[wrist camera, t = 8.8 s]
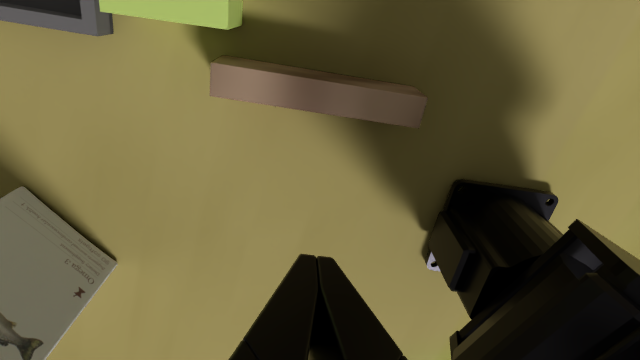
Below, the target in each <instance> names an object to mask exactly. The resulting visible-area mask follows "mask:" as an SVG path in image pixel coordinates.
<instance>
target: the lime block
mask: <svg viewBox="0 0 640 360" xmlns="http://www.w3.org/2000/svg"><path fill="white" fill-rule="evenodd" d="M99 6H100V12H107V13H114V14H121V15H128V16H135V17H142V18H149V19H156V20H163V21H170V22H177V23H184V24H191V25H198V26H205V27H212V28H219V29H226V30H229V29H232V28H235V27H238V26H241V25H242V9H243V0H99Z"/></svg>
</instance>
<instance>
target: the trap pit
mask: <svg viewBox="0 0 640 360" xmlns="http://www.w3.org/2000/svg"><path fill="white" fill-rule="evenodd" d="M0 20H2V21H8V22H14V23H20V24H26V25H32V26H38V27H44V28H50V29H56V30H62V31H68V32H75V33H81V34H87V35H93V36H102V35H108V34H113V20H112V13H107V12H100V6H99V0H0Z"/></svg>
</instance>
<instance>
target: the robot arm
mask: <svg viewBox="0 0 640 360" xmlns="http://www.w3.org/2000/svg"><path fill="white" fill-rule="evenodd" d="M461 186H464V188H463V189H462V190H461V191H458V189H459V187H461ZM548 199H550V200H549V201H548V202H546V201H547V200H548ZM557 203H558V198H557V196H555V195H554V194H553V193H551V192H547V191H540V190H533V189H526V188H519V187H512V186H505V185H498V184H491V183H484V182H477V181H470V180H463V179H460V180H457V181H455V182H454V183H453V185H452V187H451V190H450V192H449V195H448V198H447V201H446V204H445V206H444V209H443V210H442V211H441V212H440V213H439V215H438V218H437V221H436V224H435V227H434V229H433V232H432V235H431V238H430V241H429V243H428V246H429V251H428V254H427V256H426V259H425V263H426V265H427V267H428V268H429V269H430V270H435V271H441V273H442V275H443V277H444V279H445V281H446V283H447V285H448V287H449V288H450V290H451V291H455V292H457V293H458V295H459V297H460V299H461V301H462V303H463V305H464V307H465V309H466V311H467V313H468V315H469V317H470V318H471V319H472V320H471V321H470V322H469V323H468V324H467V325H465V326H464V327H463V328H462V329H461V330H460V331H456V332H455V333H454V334H453V335H452V336H450V350H451V360H640V260H639V259H637V258H636V257H634V256H633V255H631V254H630V253H628V252H627V251H625V250H624V249H622V248H621V247H619V246H618V245H616V244H615V243H613V242H611V241H610V240H608V239H607V238H605V237H604V236H602V235H601V234H599V233H598V232H596V231H595V230H593V229H592V228H590V227H589V226H587V225H586V224H584V223H583V222H581V221H580V220H578V219H576V220H575V221H574V222H573V223H572V224H571V225H570V226H569V227H568V228H569V230H568V231H567V232H566V233H565V234H564V235H563V234H562V233H561V232H560V231H559V230H558V229H557V228H556V227H555V226H553V225H552V224H551V223H550V222H549V219H550V217H551V215H552V213H553V211H554V209H555V207H556V205H557ZM433 261H436V262H435V263H432V262H433ZM229 360H407V358H406V357H405V356H403V353H402V352H401V350H400V349H399V348H398V346H397V345H396V343H395V342H394V341H393V339H392V338H391V337H390V335H389V334H388V333H387V331H386V330H385V328H384V327H383V326H382V324H381V323H380V322H379V320H378V319H377V318H376V316H375V315H374V313H373V312H372V311H371V309H370V308H369V307H368V305H367V304H366V303H365V301H364V300H363V298H362V297H361V296H360V294H359V293H358V292H357V290H356V289H355V288H354V286H353V285H352V283H351V282H350V281H349V279H348V278H347V277H346V275H345V274H344V273H343V271H342V270H341V268H340V267H339V266H338V264H337V263H336V262H335V260H334V259H333V258H331V257H324V256H318V257H317V258H316V257H315V256H314V255H307V254H300V255H299V256H298V258H297V259H296V261H295V262H294V264H293V265H292V267H291V268H290V270H289V271H288V273H287V274H286V276H285V277H284V279H283V280H282V282H281V283H280V285H279V286H278V288H277V289H276V291H275V292H274V294H273V295H272V297H271V298H270V299H269V301H268V302H267V304H266V305H265V307H264V308H263V310H262V311H261V313H260V314H259V316H258V317H257V319H256V320H255V322H254V323H253V325H252V326H251V328H250V329H249V331H248V332H247V334H246V335H245V337H244V338H243V341H241V342H240V344H239V345H238V347H237V348H236V350H235V351H234V353H233V354H232V355H231V357H230V358H229Z"/></svg>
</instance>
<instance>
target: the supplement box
mask: <svg viewBox="0 0 640 360" xmlns="http://www.w3.org/2000/svg"><path fill="white" fill-rule="evenodd" d="M117 264H118V263H117V262H116V261H114V260H113V259H112V258H110V257H109V256H108V255H106V254H105V253H103V252H102V251H101V250H100V249H98V248H97V247H96V246H94V245H93V244H92V243H91V242H89V241H88V240H87V239H86V238H84V237H83V236H82V235H81V234H79V233H78V232H77V231H76V230H74V229H73V228H72V227H71V226H70V225H68V224H67V223H66V222H65V221H64V220H62V219H61V218H60V217H59V216H58V215H57V214H55V213H54V212H53V211H51V210H50V209H49V208H48V207H47V206H46V205H45V204H43V203H42V202H41V201H40V200H39V199H38V198H36V197H35V196H34V195H33V194H32V193H31V192H30V191H28V190H27V189H26V188H25V187H23V186H21V187H19V188H17V189H15V190H13V191H12V192H10V193H8V194H7V195H5V196H3V197H2V198H0V360H46V358H47V357H48V356H49V354H50V353H51V352H52V350H53V349H54V348H55V346H56V345H57V344H58V342H59V341H60V339H61V338H62V337H63V336H64V334H65V333H66V332H67V330H68V329H69V328H70V326H71V325H72V324H73V322H74V321H75V320H76V318H77V317H78V316H79V314H80V313H81V312H82V310H83V309H84V308H85V307H86V305H87V304H88V303H89V301H90V300H91V299H92V297H93V296H94V295H95V293H96V292H97V291H98V289H99V288H100V287H101V286H102V284H103V283H104V282H105V280H106V279H107V278H108V276H109V275H110V274H111V272H112V271H113V270H114V269H115V267H116V266H117Z"/></svg>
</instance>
